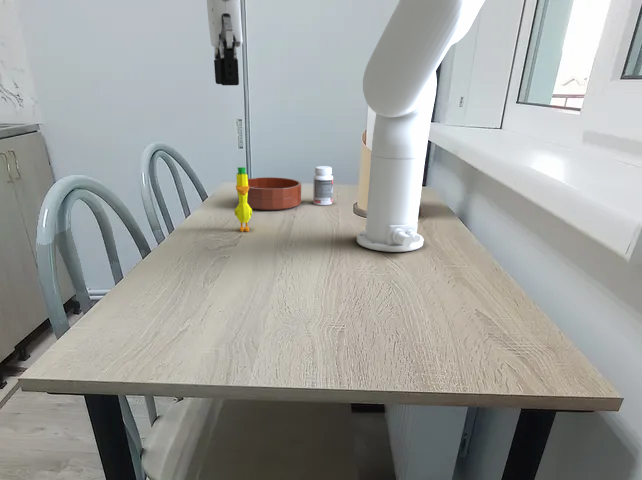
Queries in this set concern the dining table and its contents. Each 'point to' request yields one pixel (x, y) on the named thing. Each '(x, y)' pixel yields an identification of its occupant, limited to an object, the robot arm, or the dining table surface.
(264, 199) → the bowl
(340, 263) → the dining table surface
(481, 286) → the dining table surface
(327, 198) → the pill bottle
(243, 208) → the toy figure
